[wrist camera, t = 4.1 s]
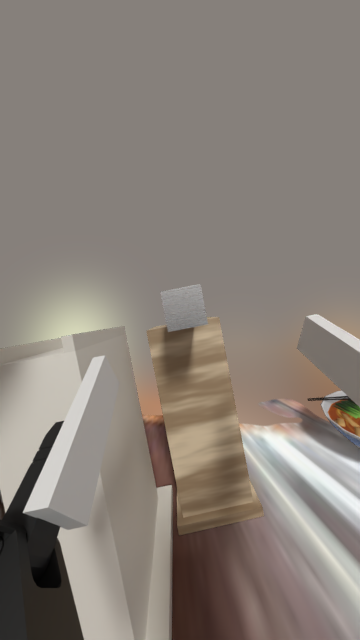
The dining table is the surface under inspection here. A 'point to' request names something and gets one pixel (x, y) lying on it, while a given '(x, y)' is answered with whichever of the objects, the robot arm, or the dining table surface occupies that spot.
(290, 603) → the dining table surface
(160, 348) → the oak stand
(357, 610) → the dining table surface
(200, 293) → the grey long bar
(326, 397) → the ramen bowl
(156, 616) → the post
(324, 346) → the robot arm
